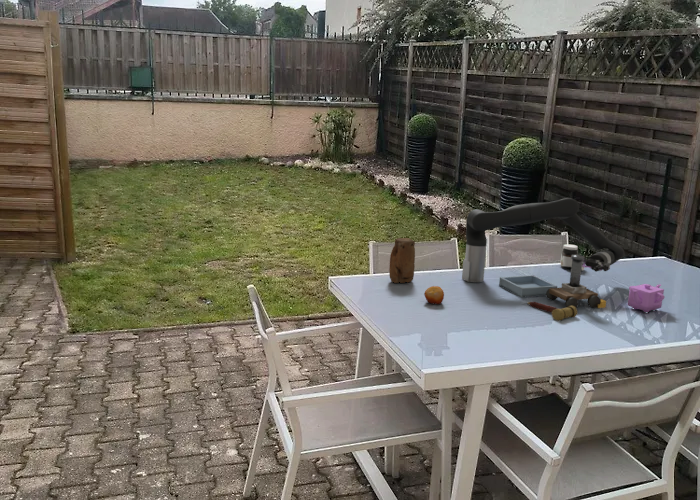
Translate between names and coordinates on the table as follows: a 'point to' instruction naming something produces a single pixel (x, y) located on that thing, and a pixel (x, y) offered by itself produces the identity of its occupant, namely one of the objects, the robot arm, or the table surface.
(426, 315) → the table surface
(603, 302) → the wheel chock
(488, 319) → the table surface
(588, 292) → the wheeled pole base
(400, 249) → the block
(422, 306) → the table surface
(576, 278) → the pin
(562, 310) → the gavel
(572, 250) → the spread jar
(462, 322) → the table surface
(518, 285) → the tray
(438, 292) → the fruit
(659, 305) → the teapot
